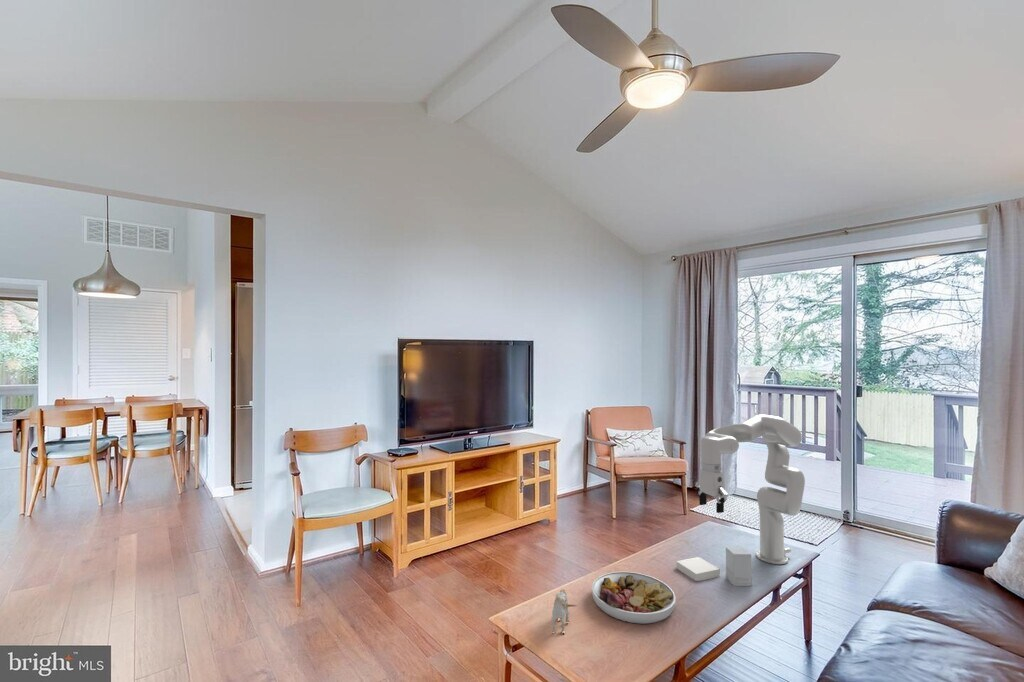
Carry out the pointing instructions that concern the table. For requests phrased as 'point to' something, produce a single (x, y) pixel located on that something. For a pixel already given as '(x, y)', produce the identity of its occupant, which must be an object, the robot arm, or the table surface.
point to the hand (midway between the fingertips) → (711, 508)
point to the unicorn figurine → (560, 609)
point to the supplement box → (738, 566)
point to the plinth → (697, 568)
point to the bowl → (633, 597)
